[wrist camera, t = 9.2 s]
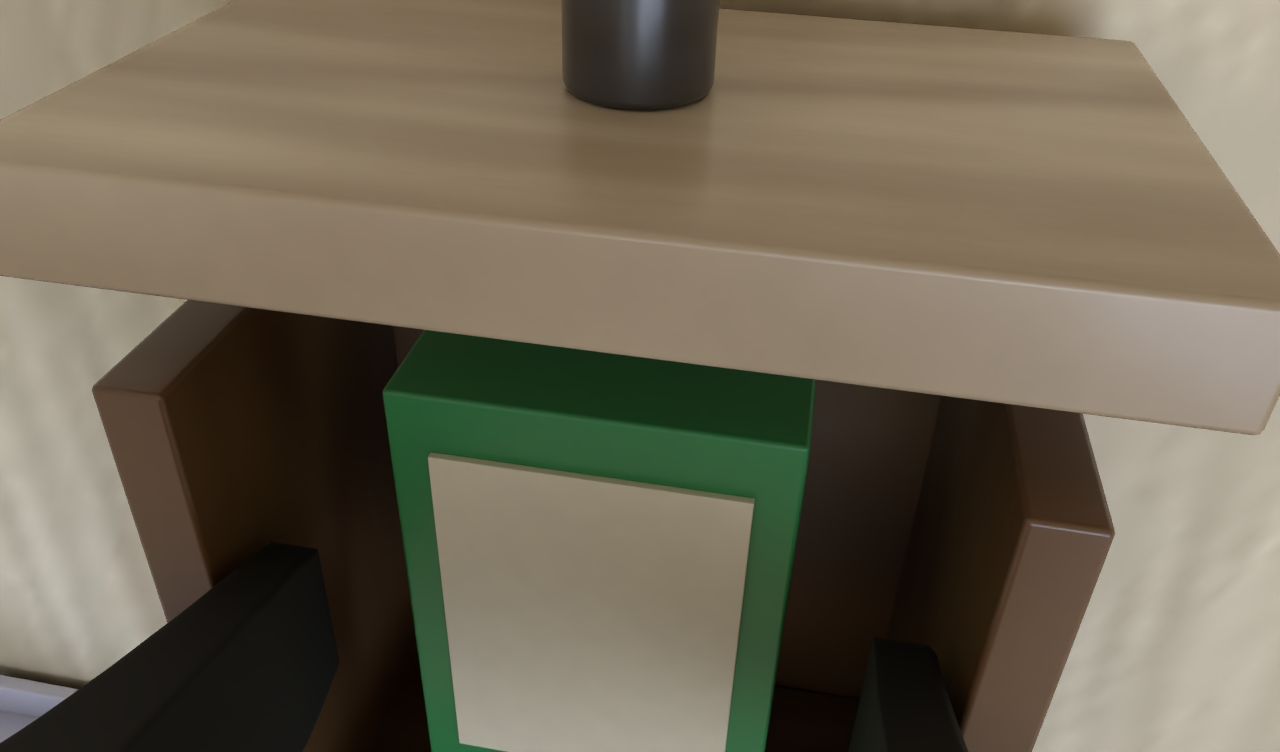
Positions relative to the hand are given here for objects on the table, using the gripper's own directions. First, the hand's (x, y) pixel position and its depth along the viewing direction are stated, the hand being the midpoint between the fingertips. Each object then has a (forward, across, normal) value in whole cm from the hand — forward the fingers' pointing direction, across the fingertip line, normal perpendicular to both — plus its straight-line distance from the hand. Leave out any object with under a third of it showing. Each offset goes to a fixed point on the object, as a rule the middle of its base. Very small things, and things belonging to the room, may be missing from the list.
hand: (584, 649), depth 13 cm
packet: (+5, 0, 0) cm, 5 cm away
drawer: (+6, 0, 0) cm, 6 cm away
